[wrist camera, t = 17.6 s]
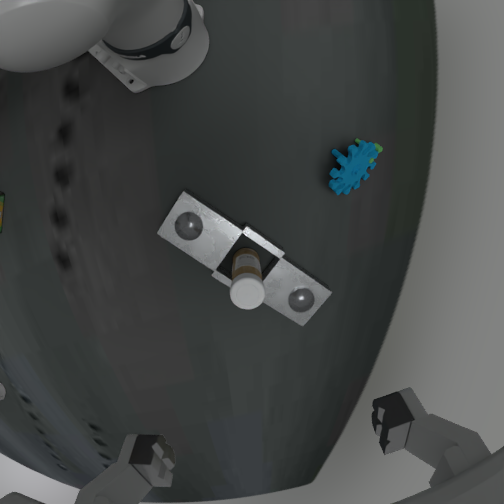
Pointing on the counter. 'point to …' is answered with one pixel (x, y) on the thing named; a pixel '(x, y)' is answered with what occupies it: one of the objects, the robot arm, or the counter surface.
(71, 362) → the counter surface
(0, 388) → the thermal camera
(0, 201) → the chalk box
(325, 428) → the counter surface
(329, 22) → the counter surface
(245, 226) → the grey long flat block
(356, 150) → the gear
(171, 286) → the counter surface
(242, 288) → the sprinkles bottle
